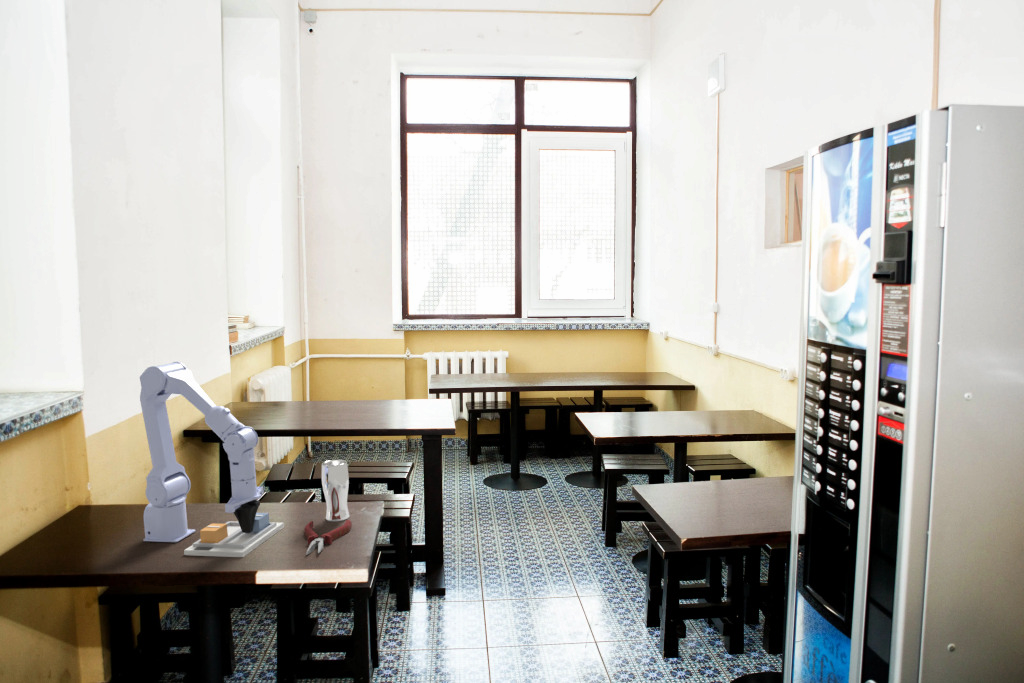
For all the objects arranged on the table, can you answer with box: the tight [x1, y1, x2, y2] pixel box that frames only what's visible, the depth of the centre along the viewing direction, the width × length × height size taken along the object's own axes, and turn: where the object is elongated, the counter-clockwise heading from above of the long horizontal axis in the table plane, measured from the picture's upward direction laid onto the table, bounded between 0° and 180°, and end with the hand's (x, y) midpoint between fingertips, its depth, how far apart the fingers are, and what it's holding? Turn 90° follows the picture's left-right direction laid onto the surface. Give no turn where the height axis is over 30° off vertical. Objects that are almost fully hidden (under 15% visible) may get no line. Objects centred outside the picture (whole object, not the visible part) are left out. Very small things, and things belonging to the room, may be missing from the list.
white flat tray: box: [183, 520, 285, 558], centre depth 182 cm, size 15×20×2 cm
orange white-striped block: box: [199, 522, 228, 543], centre depth 178 cm, size 4×5×4 cm
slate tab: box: [250, 512, 270, 533], centre depth 185 cm, size 4×5×4 cm
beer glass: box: [321, 459, 350, 523], centre depth 195 cm, size 7×7×15 cm
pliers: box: [303, 519, 353, 556], centre depth 180 cm, size 12×20×3 cm, turn 2°
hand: (247, 531), depth 181 cm, fingers closed
